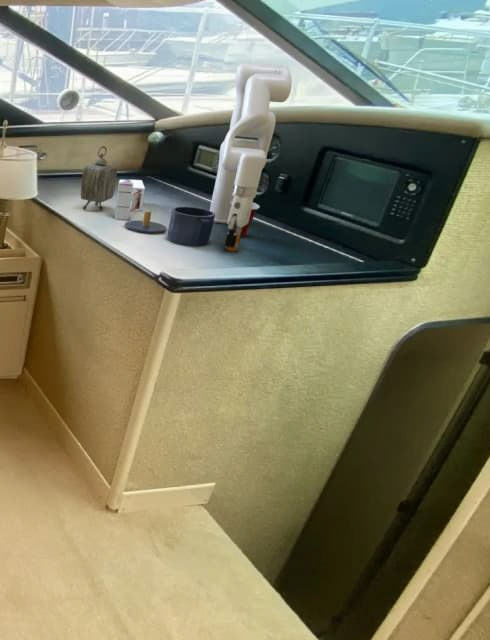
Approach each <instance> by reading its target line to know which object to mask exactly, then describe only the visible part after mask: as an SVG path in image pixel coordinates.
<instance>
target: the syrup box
mask: <svg viewBox="0 0 490 640" xmlns="http://www.w3.org/2000/svg"><path fill="white" fill-rule="evenodd" d="M132 180H133V179H130V180H129V179H119V181H118V185H117V194H116V200H115V201H116V202H115V210H114V219H116V220H122V221H129V219H130V212H131V210H130V207H131V200H132V191H133V181H132Z"/></svg>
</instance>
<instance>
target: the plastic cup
mask: <svg viewBox="0 0 490 640" xmlns="http://www.w3.org/2000/svg"><path fill="white" fill-rule="evenodd" d="M232 202H233V200H231V201H230V209H231V205H232ZM260 207H261V206H260V205H259V204H258V203H256V202H253V203H252V208H251V213H250V218H249V222H248V224H247V225H245V226H243V228H242V232H241V237H240V238H242V237H245V236H246V234H247V232H248V230H249V228H250V226H251V224H252V221H253V219H254V216H255V215H256V212H257V211H258V210H259V209H260Z"/></svg>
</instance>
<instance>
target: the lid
mask: <svg viewBox="0 0 490 640" xmlns="http://www.w3.org/2000/svg"><path fill="white" fill-rule="evenodd" d="M151 217H152V210H149V209H148V210H147V209H146V210H144V212H143V217H142V220H127V221H126V222H124V227H126V228H127V229H130V230H131V231H135V232H140V233H146V234H147V233H148V234H156V233H164V232H166V231H167V226H166V225H164V224H162V223H160V222H159V223H158V222H155V221H151Z"/></svg>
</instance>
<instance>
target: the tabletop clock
mask: <svg viewBox="0 0 490 640" xmlns="http://www.w3.org/2000/svg"><path fill="white" fill-rule="evenodd" d="M102 149H104V153H100V152H101V150H102ZM107 151H108V150H107V147H106V146H103V145H102V146H101V147H99V149H98V152H97V156H98V158H97V159H96V160H95V161H94V162H93V163H89V164H86V166H84V168H83V171H82V176H81V183H80V199H81V200H82V201H83V200H84V201H87V202H86V203H85V205H83V206H82V210H86V209H87V207H88V205H90V203H91V202H93V203H94V206H98V210H100V211H101V210H102V209H103V206H102V203H104V202H106V201H108V200H111V199H112V198H113V197H114V195H115V191H116V183H117V176H118V175H117V174H118V173H117V171H118V170H117V168H116V167H115V166H114V165H110V164H108V161H107V159H106V158H104V157H105V156H106V154H107Z"/></svg>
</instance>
